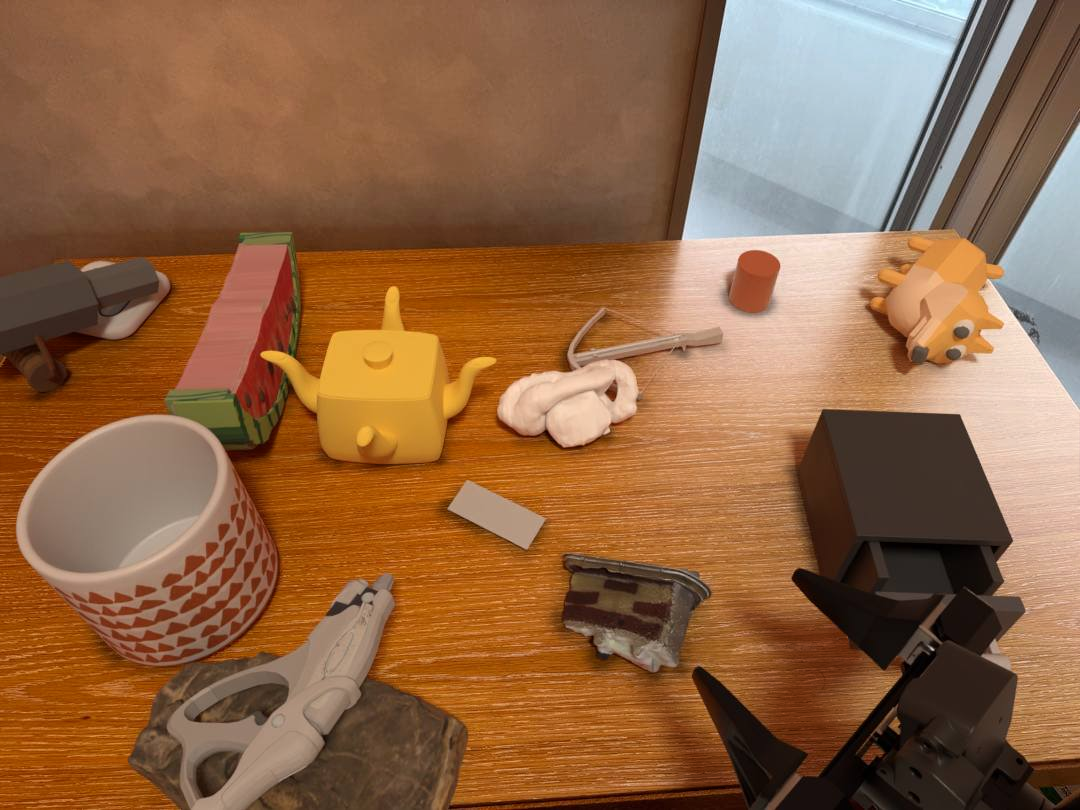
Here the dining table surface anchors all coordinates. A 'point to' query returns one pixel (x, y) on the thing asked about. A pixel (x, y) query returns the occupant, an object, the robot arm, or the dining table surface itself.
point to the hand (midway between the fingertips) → (746, 619)
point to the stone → (341, 765)
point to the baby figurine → (570, 402)
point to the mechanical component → (61, 310)
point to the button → (125, 310)
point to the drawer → (934, 578)
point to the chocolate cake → (632, 607)
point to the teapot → (382, 392)
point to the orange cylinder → (754, 280)
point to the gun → (310, 710)
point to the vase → (150, 539)
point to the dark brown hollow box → (895, 485)
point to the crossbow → (637, 346)
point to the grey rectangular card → (497, 514)
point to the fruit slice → (244, 346)
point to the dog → (940, 300)
